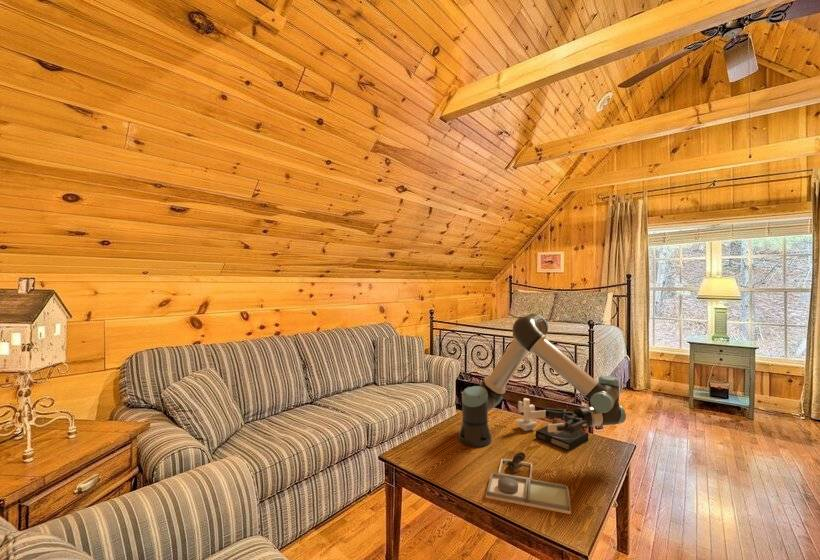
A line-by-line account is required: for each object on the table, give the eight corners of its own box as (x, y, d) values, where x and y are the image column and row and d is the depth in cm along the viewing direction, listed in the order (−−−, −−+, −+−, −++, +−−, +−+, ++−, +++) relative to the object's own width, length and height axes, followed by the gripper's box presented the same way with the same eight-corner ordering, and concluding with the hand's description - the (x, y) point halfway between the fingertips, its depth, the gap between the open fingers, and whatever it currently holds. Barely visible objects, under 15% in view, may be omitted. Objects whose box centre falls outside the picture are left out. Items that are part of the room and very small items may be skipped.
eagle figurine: (527, 475, 145) (530, 460, 153) (516, 459, 146) (519, 445, 154) (510, 481, 149) (514, 466, 157) (499, 465, 149) (503, 451, 157)
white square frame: (497, 475, 147) (497, 473, 147) (501, 460, 158) (501, 458, 158) (531, 481, 143) (531, 479, 143) (532, 465, 154) (532, 463, 154)
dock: (485, 497, 133) (485, 489, 133) (490, 477, 145) (490, 470, 145) (570, 514, 124) (570, 505, 124) (568, 491, 136) (568, 483, 136)
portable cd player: (535, 439, 179) (535, 431, 178) (555, 429, 189) (555, 421, 189) (568, 452, 166) (568, 443, 165) (588, 441, 176) (588, 432, 176)
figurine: (539, 429, 188) (539, 399, 187) (524, 433, 184) (524, 402, 184) (528, 424, 194) (528, 395, 194) (514, 427, 191) (514, 398, 190)
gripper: (608, 439, 143) (556, 444, 139) (569, 414, 168) (524, 418, 164) (608, 419, 143) (556, 424, 139) (569, 397, 167) (524, 401, 164)
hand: (538, 421), depth 151 cm, fingers open, 13 cm apart
